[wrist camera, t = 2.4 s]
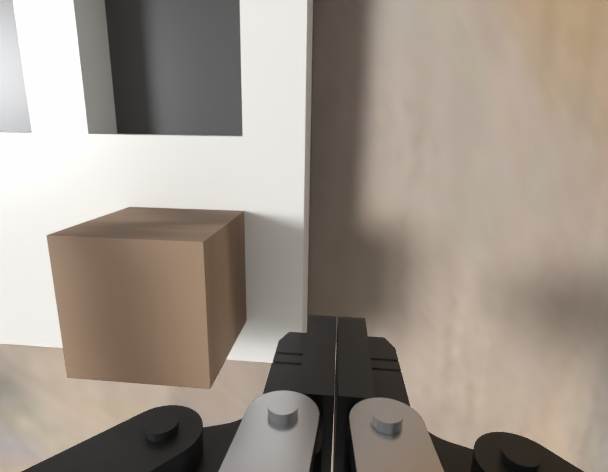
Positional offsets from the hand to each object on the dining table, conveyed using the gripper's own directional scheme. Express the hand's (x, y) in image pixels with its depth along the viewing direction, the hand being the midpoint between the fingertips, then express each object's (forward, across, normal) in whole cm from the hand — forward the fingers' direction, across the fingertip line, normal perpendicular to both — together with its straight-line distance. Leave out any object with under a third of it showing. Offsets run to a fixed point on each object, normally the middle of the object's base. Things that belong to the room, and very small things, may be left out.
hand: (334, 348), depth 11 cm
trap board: (+9, +11, -4) cm, 15 cm away
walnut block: (+6, +6, 0) cm, 9 cm away
